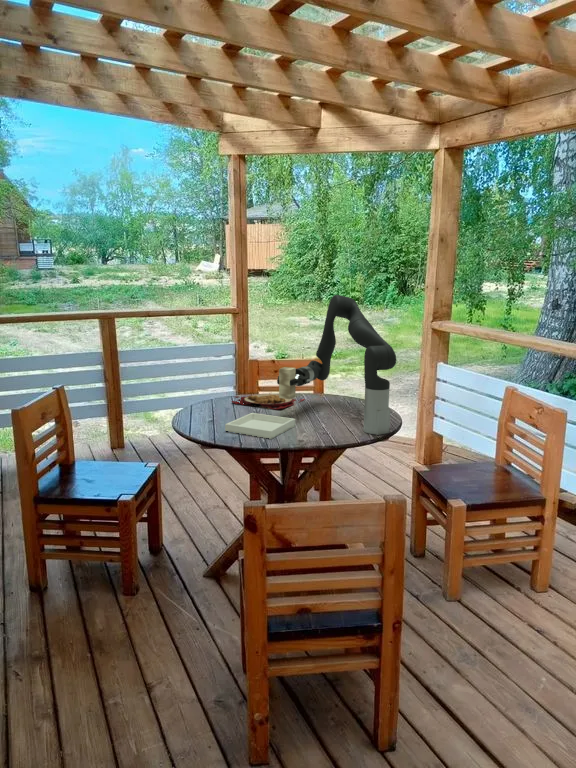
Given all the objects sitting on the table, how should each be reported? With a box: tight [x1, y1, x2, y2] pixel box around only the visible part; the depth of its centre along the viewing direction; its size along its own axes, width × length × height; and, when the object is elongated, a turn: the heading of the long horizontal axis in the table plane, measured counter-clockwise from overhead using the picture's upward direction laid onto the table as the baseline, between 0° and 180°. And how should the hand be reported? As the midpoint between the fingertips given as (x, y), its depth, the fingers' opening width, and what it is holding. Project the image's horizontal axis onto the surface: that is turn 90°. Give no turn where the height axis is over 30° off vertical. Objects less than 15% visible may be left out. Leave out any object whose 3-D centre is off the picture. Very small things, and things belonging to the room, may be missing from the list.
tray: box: [224, 412, 296, 440], centre depth 215 cm, size 20×20×3 cm
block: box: [278, 366, 297, 399], centre depth 225 cm, size 5×5×12 cm
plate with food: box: [230, 393, 305, 410], centre depth 260 cm, size 25×26×4 cm
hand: (284, 382), depth 223 cm, fingers closed on block, 5 cm apart
